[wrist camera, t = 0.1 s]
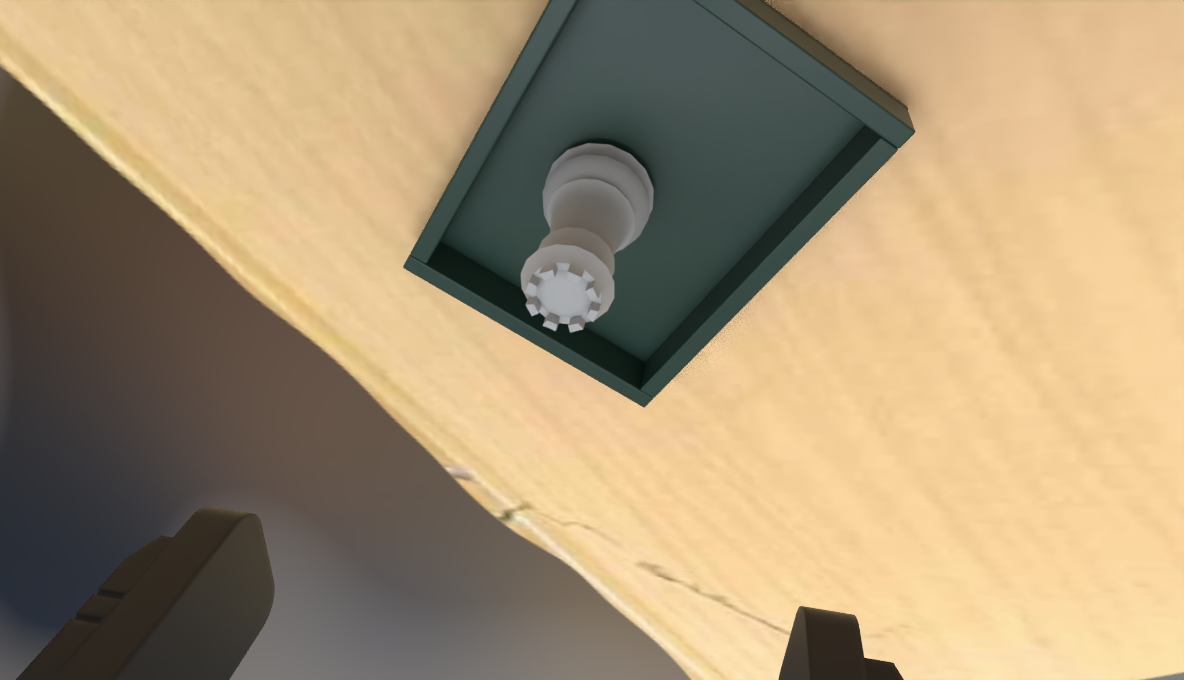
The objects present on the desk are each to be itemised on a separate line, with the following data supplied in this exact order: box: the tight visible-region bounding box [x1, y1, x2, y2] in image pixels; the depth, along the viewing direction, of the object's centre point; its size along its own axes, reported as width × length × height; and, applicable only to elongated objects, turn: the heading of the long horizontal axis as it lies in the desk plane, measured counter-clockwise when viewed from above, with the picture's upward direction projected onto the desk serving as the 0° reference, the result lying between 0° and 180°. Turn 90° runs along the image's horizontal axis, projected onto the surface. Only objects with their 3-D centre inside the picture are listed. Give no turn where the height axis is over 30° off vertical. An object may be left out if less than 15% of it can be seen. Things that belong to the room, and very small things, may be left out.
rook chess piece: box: [521, 143, 654, 332], centre depth 29 cm, size 4×4×8 cm
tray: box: [403, 0, 915, 407], centre depth 31 cm, size 17×13×2 cm
